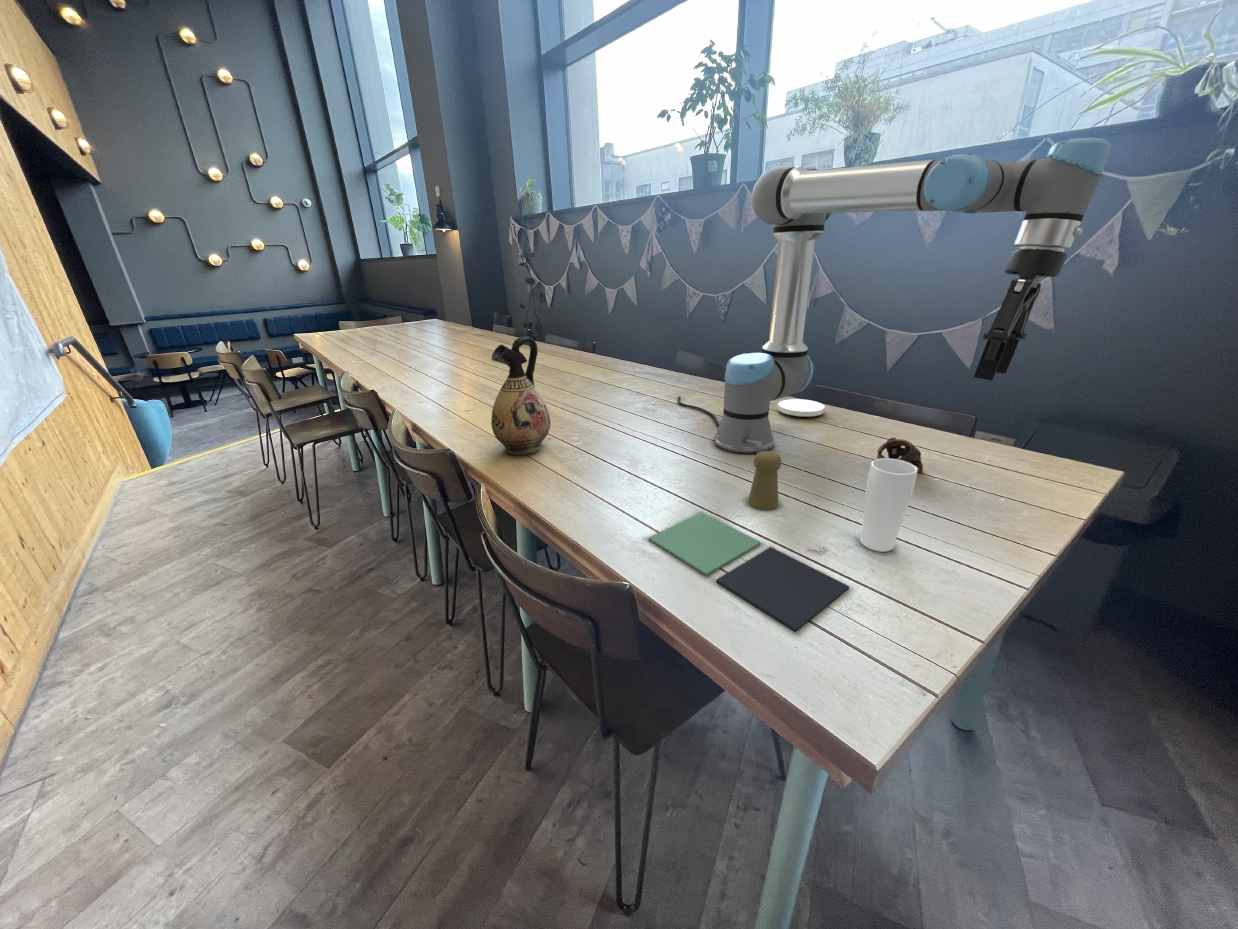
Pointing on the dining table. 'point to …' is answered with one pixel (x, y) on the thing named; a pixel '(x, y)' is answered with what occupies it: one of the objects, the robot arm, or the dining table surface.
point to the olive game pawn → (765, 481)
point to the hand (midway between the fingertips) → (990, 375)
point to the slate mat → (783, 587)
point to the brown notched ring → (901, 452)
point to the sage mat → (704, 543)
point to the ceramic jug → (519, 402)
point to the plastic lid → (801, 407)
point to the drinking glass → (886, 502)
